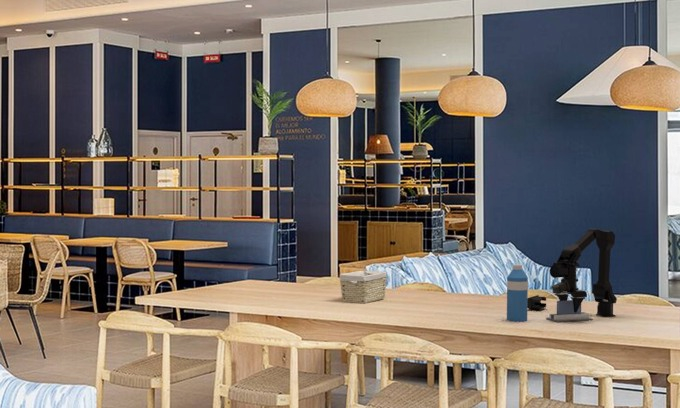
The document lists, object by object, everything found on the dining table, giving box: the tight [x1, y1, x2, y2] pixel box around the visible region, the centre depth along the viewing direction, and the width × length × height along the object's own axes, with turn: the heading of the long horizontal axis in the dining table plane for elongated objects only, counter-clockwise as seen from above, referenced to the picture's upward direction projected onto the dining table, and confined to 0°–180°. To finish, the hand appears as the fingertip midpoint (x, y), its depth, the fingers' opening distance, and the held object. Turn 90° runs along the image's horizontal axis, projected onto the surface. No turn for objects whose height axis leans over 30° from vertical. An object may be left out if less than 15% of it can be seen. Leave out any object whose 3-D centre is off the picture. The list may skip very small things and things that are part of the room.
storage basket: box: [339, 270, 387, 304], centre depth 492 cm, size 24×16×15 cm
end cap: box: [527, 295, 547, 312], centre depth 459 cm, size 10×7×7 cm
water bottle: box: [506, 264, 529, 323], centre depth 424 cm, size 9×9×25 cm
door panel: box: [556, 299, 582, 315], centre depth 426 cm, size 12×2×8 cm, turn 111°
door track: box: [545, 311, 593, 323], centre depth 426 cm, size 18×10×3 cm, turn 111°
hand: (569, 311), depth 426 cm, fingers open, 9 cm apart
